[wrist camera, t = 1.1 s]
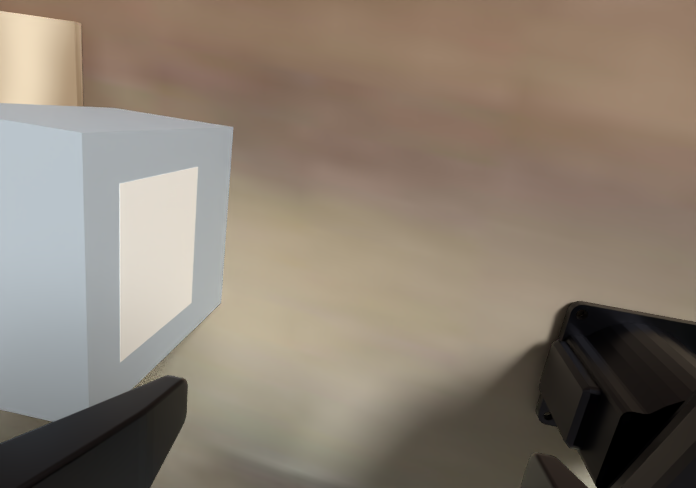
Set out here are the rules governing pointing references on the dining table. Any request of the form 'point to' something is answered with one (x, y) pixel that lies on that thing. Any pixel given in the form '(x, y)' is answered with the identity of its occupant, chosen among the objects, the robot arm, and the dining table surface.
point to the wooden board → (40, 60)
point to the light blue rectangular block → (103, 248)
